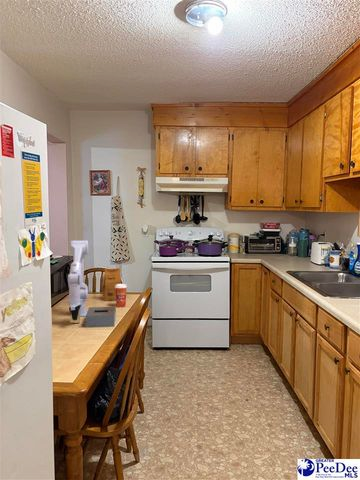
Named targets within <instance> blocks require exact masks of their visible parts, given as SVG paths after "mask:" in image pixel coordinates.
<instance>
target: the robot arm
mask: <svg viewBox="0 0 360 480" xmlns="http://www.w3.org/2000/svg"><path fill="white" fill-rule="evenodd" d="M69 244H70V245H69V246H70V252H71V254H72V255H73V261H72V263H70V269H69V273H68V275H67V284H68V290H69V292H68V297H69V298H68V299H69V300H68V301H69V302H67V303H66V305H67V306H68V305H69V308H68V310H69V312H70V315H72V319H73V320H77V316H78V314H80V317H85V316H86V314H87V312H88V310H87V309H86V306H87V303H86V300H87V299H88V297H89V287H88V285H87V284H86V283H84V275H85V274H84V271H85V270H84V267H85V266H84V265H85V257H86V256H87V255H88V254H89V241H88V239H85V240H73V239H72V240H71V241H70V243H69Z"/></svg>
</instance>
